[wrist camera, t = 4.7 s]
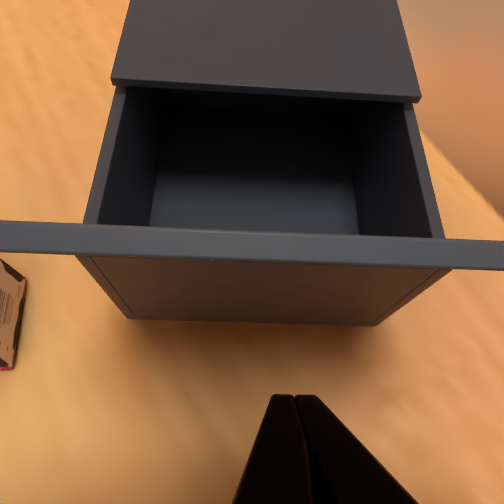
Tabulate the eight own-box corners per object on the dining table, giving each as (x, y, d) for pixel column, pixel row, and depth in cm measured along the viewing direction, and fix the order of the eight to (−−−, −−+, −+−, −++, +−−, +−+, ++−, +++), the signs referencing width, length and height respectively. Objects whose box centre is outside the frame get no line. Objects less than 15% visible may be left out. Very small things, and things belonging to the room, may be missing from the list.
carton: (376, 326, 20) (467, 260, 12) (127, 319, 19) (65, 244, 12) (348, 116, 26) (395, -9, 19) (161, 106, 26) (136, -28, 18)
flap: (463, 256, 13) (463, 268, 13) (68, 241, 12) (67, 254, 12) (790, 252, 5) (788, 280, 5) (-199, 212, 5) (-201, 244, 5)
